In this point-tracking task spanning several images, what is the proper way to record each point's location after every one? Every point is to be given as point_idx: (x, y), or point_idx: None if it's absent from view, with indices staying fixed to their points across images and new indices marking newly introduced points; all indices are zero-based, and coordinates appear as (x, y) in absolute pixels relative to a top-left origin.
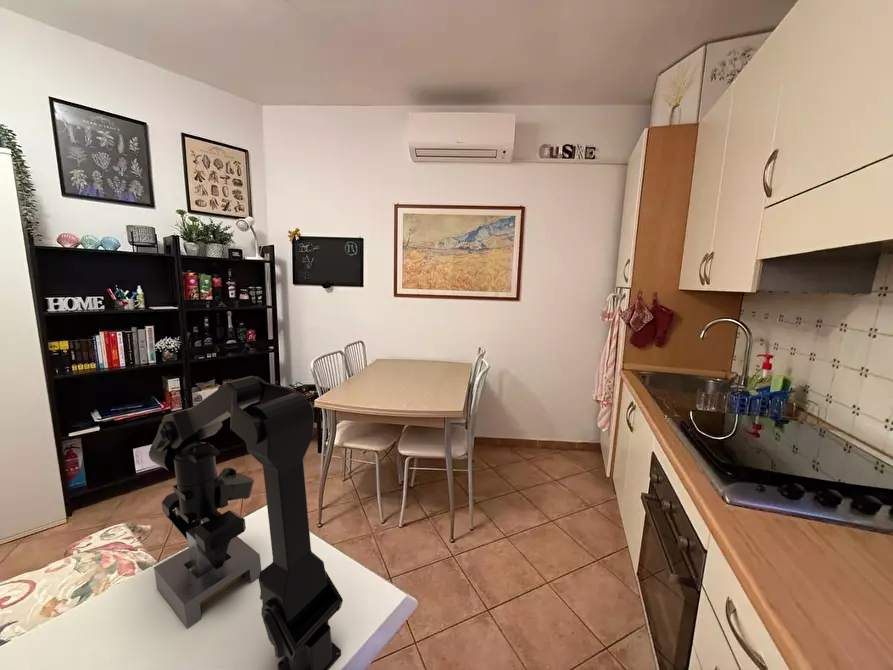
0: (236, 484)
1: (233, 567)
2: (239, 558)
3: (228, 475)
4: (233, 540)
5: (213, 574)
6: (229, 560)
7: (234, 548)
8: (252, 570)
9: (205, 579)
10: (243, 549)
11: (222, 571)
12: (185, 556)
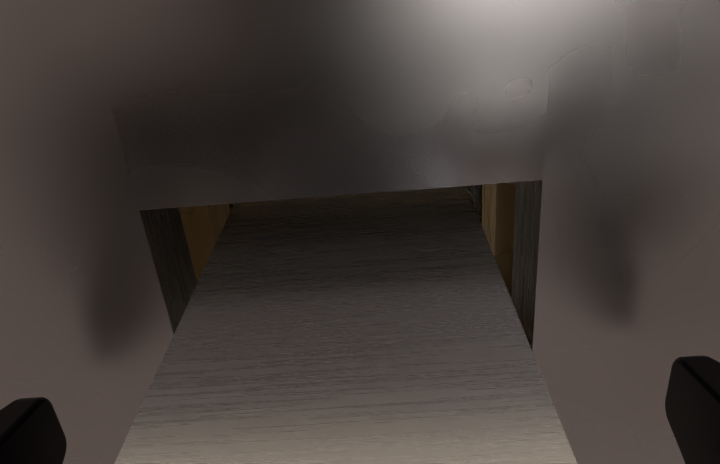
0: None
1: None
2: (660, 125)
3: None
4: (208, 36)
5: (611, 378)
6: (575, 219)
7: (401, 93)
8: None
9: (602, 433)
10: (543, 16)
11: (662, 317)
12: (103, 455)
